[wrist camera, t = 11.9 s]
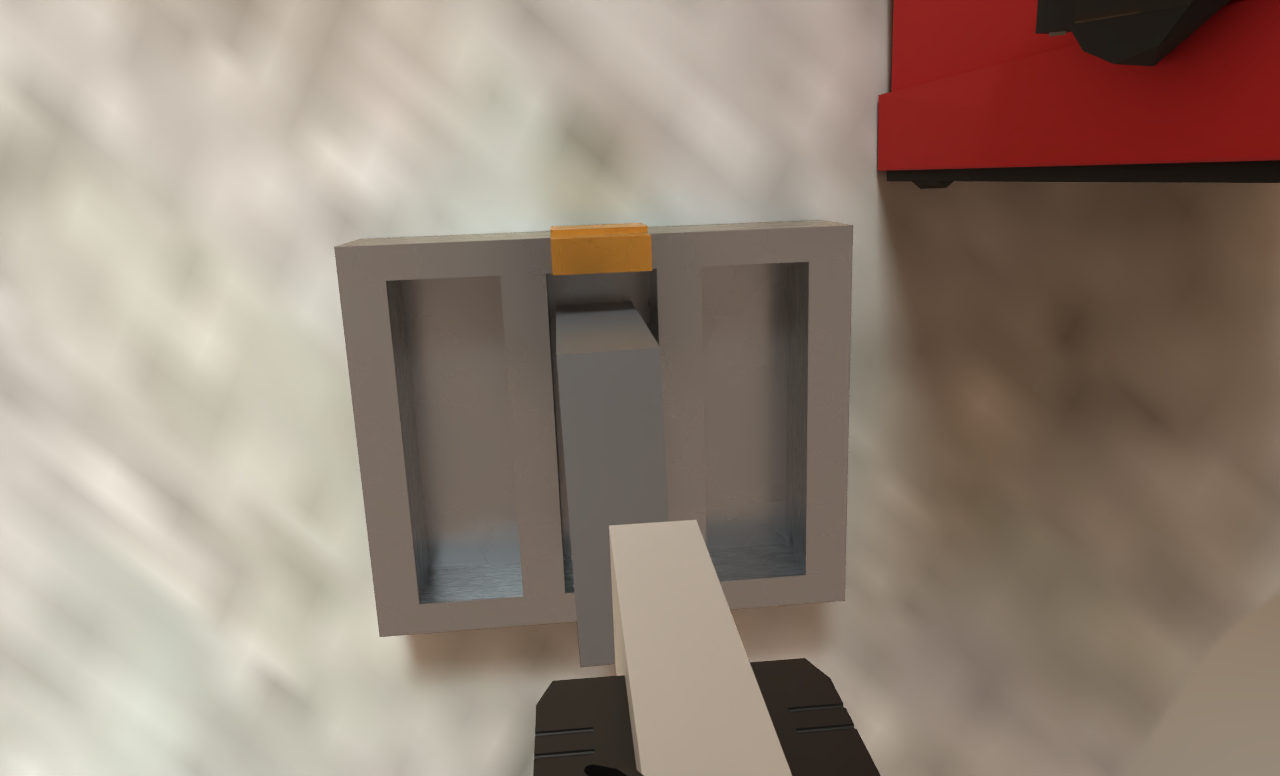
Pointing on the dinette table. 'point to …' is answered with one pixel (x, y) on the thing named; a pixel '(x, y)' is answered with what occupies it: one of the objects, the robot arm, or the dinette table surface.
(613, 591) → the robot arm
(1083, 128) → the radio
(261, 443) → the dinette table surface
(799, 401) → the rack
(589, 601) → the panel
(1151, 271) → the dinette table surface
